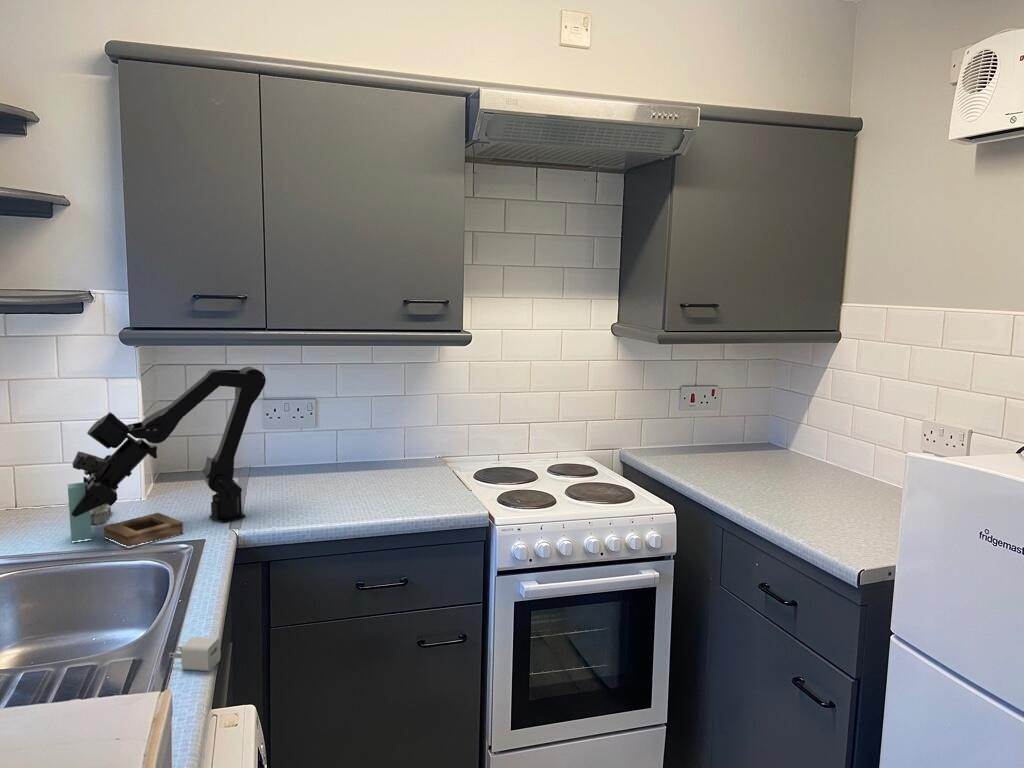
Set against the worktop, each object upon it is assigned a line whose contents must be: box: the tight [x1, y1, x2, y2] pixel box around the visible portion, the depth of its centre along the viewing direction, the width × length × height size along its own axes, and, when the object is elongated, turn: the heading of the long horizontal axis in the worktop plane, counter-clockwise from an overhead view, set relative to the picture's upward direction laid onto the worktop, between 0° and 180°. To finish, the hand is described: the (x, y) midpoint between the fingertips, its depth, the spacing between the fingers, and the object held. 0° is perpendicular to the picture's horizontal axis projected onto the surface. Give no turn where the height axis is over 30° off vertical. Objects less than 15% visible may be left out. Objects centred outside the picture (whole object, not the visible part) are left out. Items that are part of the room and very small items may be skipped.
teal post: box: [67, 481, 93, 542], centre depth 169 cm, size 4×4×13 cm
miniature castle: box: [90, 504, 112, 525], centre depth 184 cm, size 11×8×4 cm
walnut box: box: [103, 512, 184, 546], centre depth 173 cm, size 13×11×3 cm
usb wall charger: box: [168, 636, 221, 672], centre depth 117 cm, size 4×7×4 cm, turn 85°
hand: (72, 512), depth 168 cm, fingers closed on teal post, 4 cm apart
